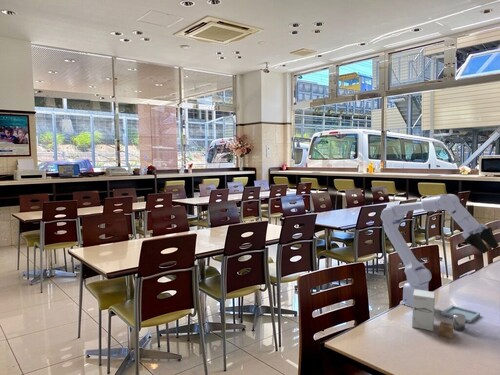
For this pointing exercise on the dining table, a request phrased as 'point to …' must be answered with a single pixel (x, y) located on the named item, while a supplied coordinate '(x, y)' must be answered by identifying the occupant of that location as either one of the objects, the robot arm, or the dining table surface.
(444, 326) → the walnut block
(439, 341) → the dining table surface
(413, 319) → the supplement box
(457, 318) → the silver cylindrical canister
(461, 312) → the tray
